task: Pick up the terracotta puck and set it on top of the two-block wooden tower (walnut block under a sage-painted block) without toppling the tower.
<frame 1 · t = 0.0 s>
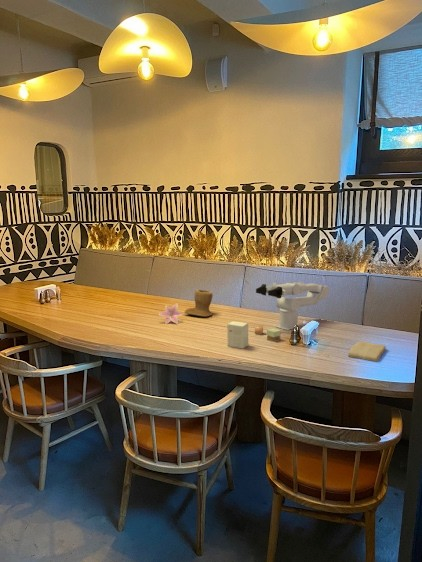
hand: (262, 292, 197), 22 cm above the table, tool horizontal, fingers open, 7 cm apart
small box: (237, 346, 188), on the table
washcloth: (367, 354, 176), on the table
lily: (171, 322, 226), on the table
brown boot-shaped piece: (200, 315, 240), on the table
tower base: (273, 340, 195), on the table, touching tower top
tower top: (273, 335, 195), point 2 cm above the table, touching tower base
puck: (259, 333, 204), on the table
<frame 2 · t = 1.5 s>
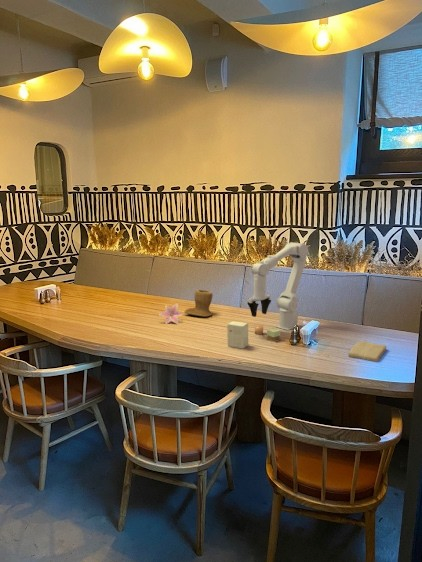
hand: (259, 315, 202), 10 cm above the table, tool pointing down, fingers open, 7 cm apart
nothing on the table moved.
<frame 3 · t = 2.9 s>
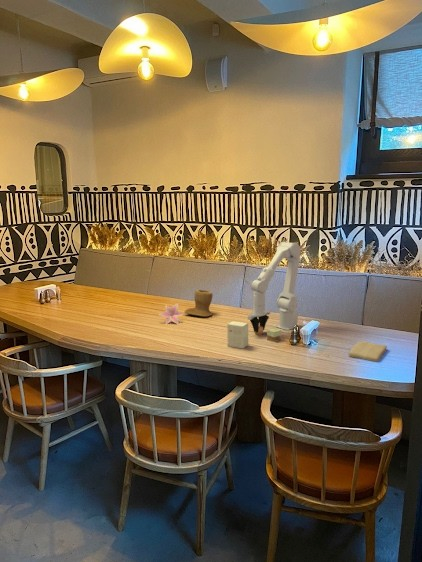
hand: (259, 330, 204), 1 cm above the table, tool pointing down, fingers closed on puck, 4 cm apart
tower base: (273, 340, 195), on the table
tower top: (273, 335, 194), point 2 cm above the table
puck: (259, 333, 204), on the table, touching gripper
everything else where it was.
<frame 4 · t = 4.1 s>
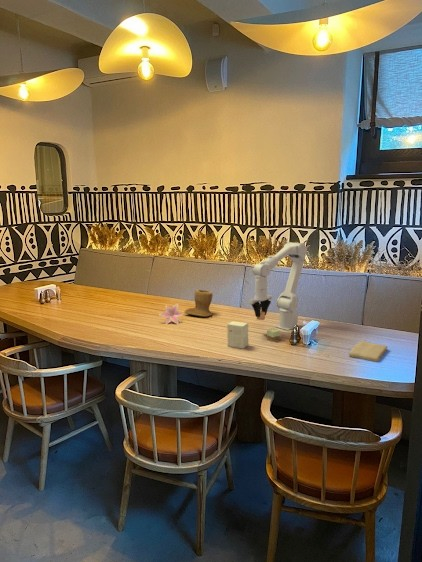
hand: (260, 315, 201), 9 cm above the table, tool pointing down, fingers closed on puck, 4 cm apart
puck: (260, 318, 202), point 8 cm above the table, touching gripper
everything else where it was.
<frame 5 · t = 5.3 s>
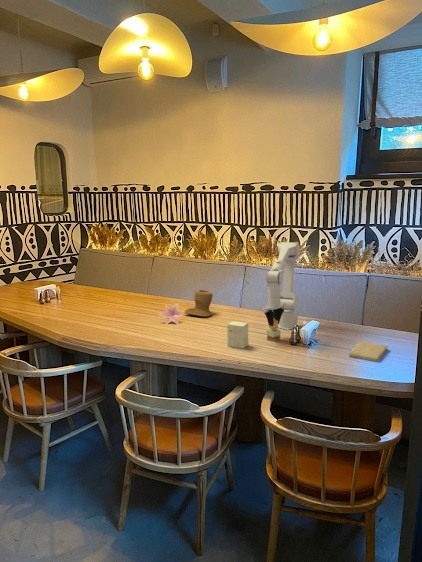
hand: (273, 324, 194), 7 cm above the table, tool pointing down, fingers closed on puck, 4 cm apart
tower base: (273, 340, 195), on the table, touching tower top
tower top: (273, 335, 195), point 2 cm above the table, touching tower base
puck: (273, 327, 194), point 6 cm above the table, touching gripper
everything else where it was.
when the fingers open (7 cm above the table, at t = 5.5 s): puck drops 1 cm, resting on tower top.
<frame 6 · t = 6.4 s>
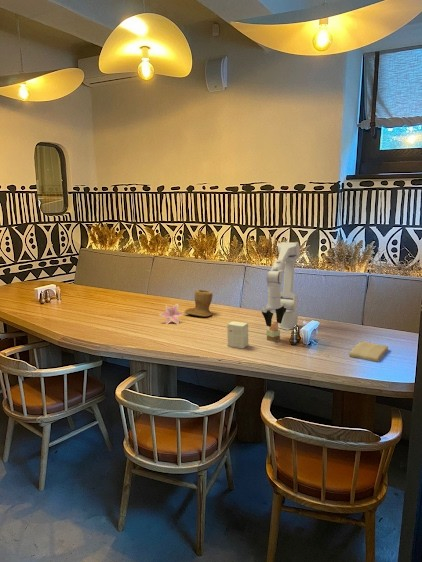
hand: (273, 324, 194), 7 cm above the table, tool pointing down, fingers open, 7 cm apart
tower top: (273, 335, 195), point 2 cm above the table, touching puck, tower base
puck: (273, 330, 194), point 5 cm above the table, touching tower top
everything else where it was.
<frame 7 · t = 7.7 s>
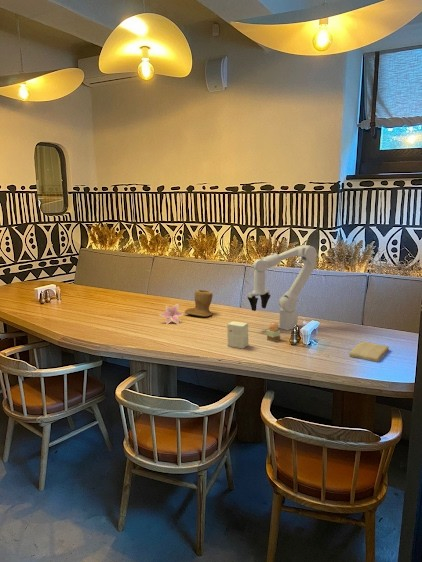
hand: (258, 309, 210), 10 cm above the table, tool pointing down, fingers open, 7 cm apart
tower base: (273, 340, 195), on the table
tower top: (273, 335, 195), point 2 cm above the table, touching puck
everything else where it was.
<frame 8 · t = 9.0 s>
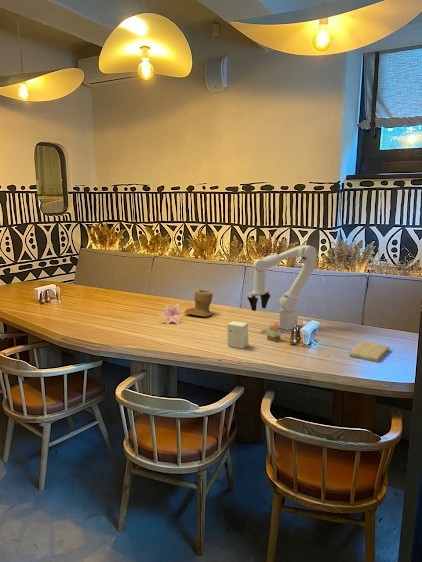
hand: (258, 309, 210), 10 cm above the table, tool pointing down, fingers open, 7 cm apart
tower base: (273, 340, 195), on the table, touching tower top
tower top: (273, 335, 195), point 2 cm above the table, touching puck, tower base
at the end: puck 0.1 cm off-centre on the tower base, point 5.0 cm above the tower base's base; tower top moved 0.4 cm from its start; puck tilted 0° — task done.
